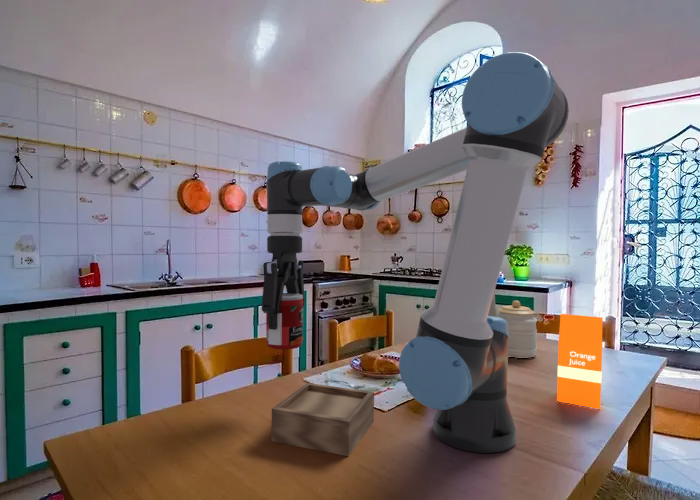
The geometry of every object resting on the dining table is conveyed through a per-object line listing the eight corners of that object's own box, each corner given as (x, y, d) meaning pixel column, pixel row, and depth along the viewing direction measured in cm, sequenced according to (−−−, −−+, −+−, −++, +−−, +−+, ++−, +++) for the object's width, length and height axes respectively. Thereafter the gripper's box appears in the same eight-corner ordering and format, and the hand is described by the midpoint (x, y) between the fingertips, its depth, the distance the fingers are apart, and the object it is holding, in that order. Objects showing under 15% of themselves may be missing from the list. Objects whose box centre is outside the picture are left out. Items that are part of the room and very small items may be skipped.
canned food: (296, 350, 88) (296, 297, 88) (260, 348, 90) (260, 296, 90) (307, 342, 96) (307, 293, 96) (273, 340, 98) (273, 292, 97)
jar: (490, 348, 147) (491, 297, 147) (530, 349, 146) (531, 298, 145) (498, 358, 135) (499, 302, 134) (541, 360, 133) (543, 304, 132)
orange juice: (559, 392, 106) (561, 311, 105) (600, 399, 101) (603, 315, 101) (556, 402, 99) (558, 316, 98) (600, 410, 94) (603, 320, 94)
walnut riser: (373, 421, 87) (374, 392, 87) (348, 456, 73) (349, 421, 73) (306, 410, 92) (307, 382, 92) (271, 441, 78) (271, 408, 78)
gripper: (291, 235, 103) (291, 329, 104) (242, 234, 84) (242, 349, 85) (319, 235, 101) (319, 331, 101) (276, 234, 82) (276, 353, 82)
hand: (284, 339), depth 93 cm, fingers closed on canned food, 8 cm apart
